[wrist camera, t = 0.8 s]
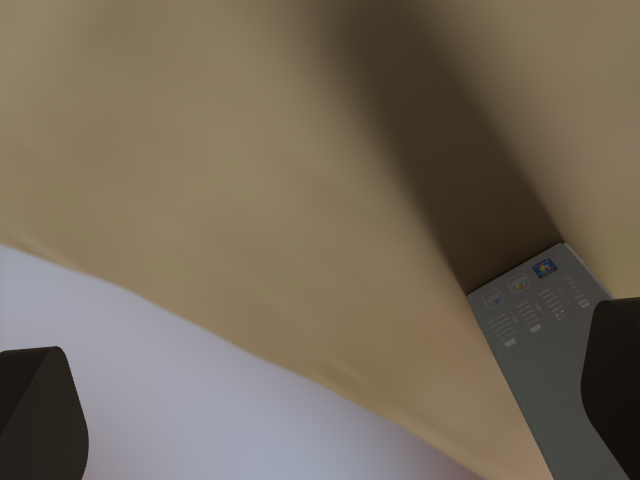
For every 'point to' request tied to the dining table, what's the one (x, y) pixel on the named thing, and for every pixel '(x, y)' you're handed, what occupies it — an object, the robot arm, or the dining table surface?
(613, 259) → the dining table surface
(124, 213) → the dining table surface
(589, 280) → the hard drive box
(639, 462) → the robot arm
